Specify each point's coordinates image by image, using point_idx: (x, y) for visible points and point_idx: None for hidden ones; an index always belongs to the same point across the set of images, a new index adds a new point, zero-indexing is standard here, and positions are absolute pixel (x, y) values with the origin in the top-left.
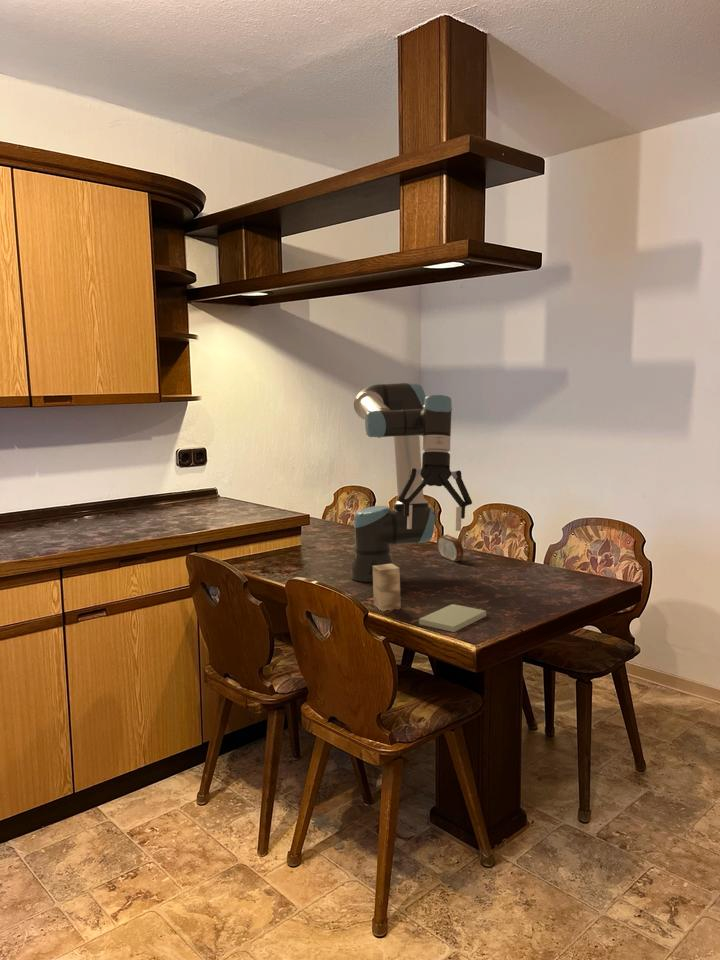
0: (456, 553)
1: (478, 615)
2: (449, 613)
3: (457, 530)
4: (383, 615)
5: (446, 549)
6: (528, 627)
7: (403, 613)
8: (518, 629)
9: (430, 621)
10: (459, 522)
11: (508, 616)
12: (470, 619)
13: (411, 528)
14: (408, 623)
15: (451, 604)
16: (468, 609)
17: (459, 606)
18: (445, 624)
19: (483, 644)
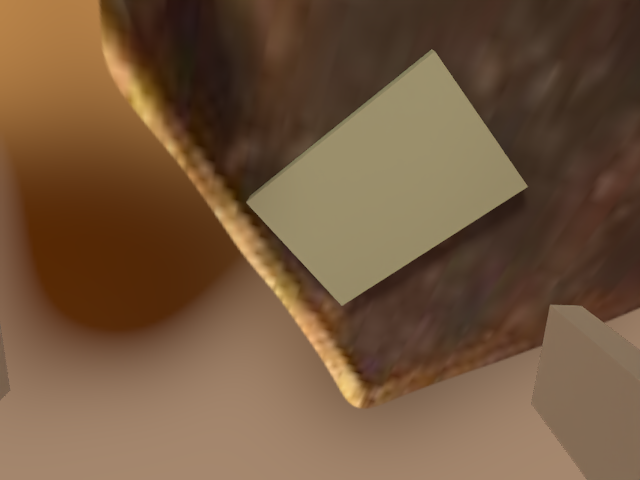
0: None
1: (475, 217)
2: (374, 177)
3: (538, 377)
4: (127, 48)
5: None
6: None
7: (212, 45)
8: None
9: (280, 239)
10: (593, 468)
11: (598, 206)
12: (428, 247)
13: (5, 394)
14: (215, 173)
15: (428, 57)
16: (468, 150)
17: (450, 98)
18: (322, 281)
19: (389, 394)
